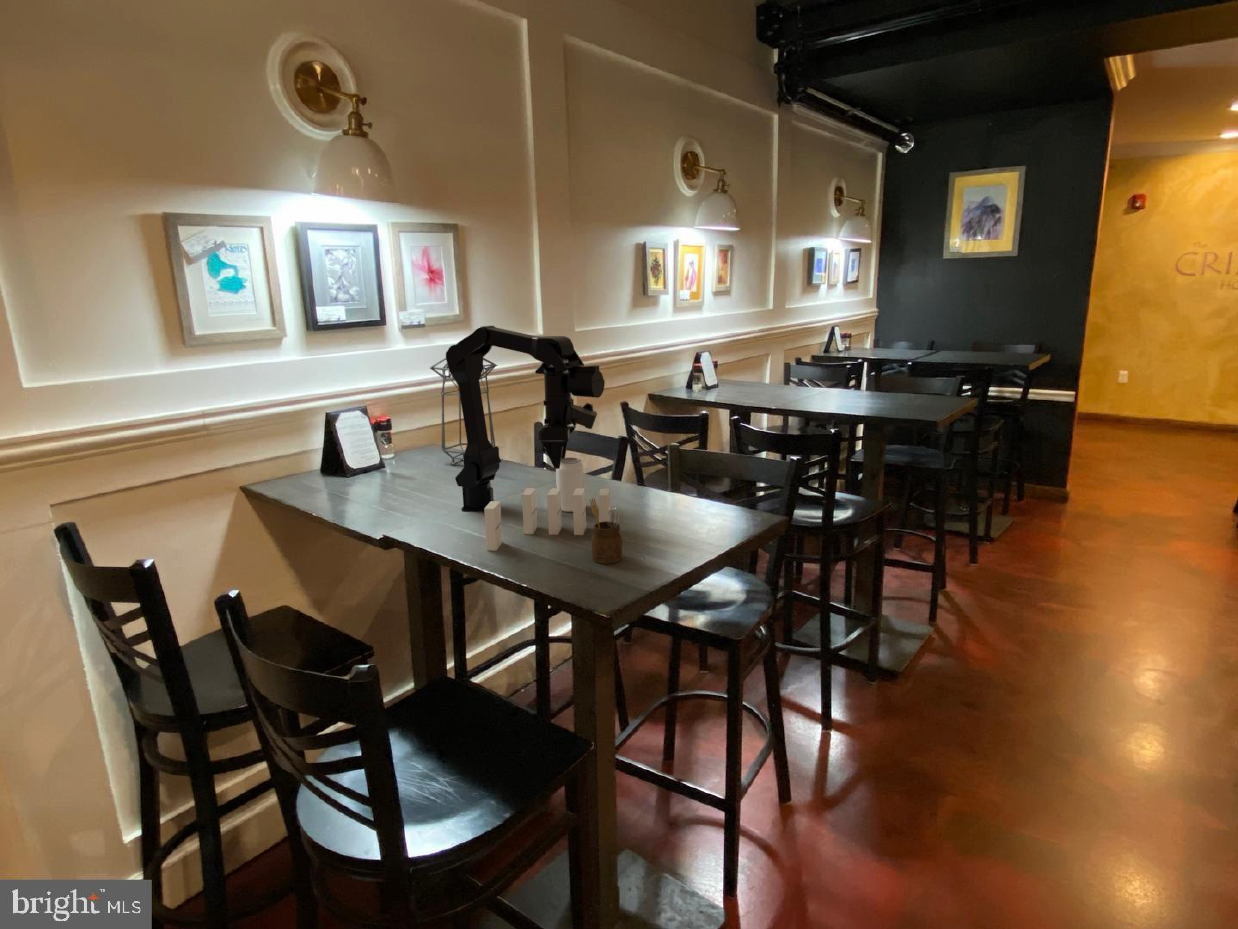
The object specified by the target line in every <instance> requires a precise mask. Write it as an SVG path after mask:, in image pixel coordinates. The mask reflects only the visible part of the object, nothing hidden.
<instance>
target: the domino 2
mask: <svg viewBox="0 0 1238 929" xmlns="http://www.w3.org/2000/svg"><path fill="white" fill-rule="evenodd" d="M536 490H537V488H536V487H526V488H525V489H524V491H523V493H521V501H522V503H521V504H522V519H523V520H522V521H523V534H524V535H534V533H535V531H536V530H537V529H538V510H537V509H538V508H537V491H536Z"/></svg>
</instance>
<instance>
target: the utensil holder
mask: <svg viewBox="0 0 1238 929" xmlns="http://www.w3.org/2000/svg"><path fill="white" fill-rule="evenodd" d="M589 501H590V502H589V503H590V507H591V508H590V509H591V513H592V515H593V516H595V521H596V522H595V524H594V525H593V528H592V532H593V534H592V536H591V555H592V556H591V557H592V559H593V561H594V562H596V563H598V564H603V565H610V564H611V565H612V564H616V563H618V562H620V561H621V559H622V557H623V538H622V534H621V533H620V532H621V527H620V523H619V521H617V522H616V520H617V519H620V510H619V508H617V506H616V507H614V506H612V507H610V510H611V509H612V511H611V513H613V512H614V511H613V509H616V510H617V513H615V517H617V514H618V518H617V519H616V518H614V521H612V520H613V519H612V518H613V517H612V514H610V517H611V522H609V521H605V522H599V516H598V515H599V508H598V505H597V502H596V499H595V497H593V498H591V499H589ZM608 515H609V513H608ZM607 518H608V516H607Z"/></svg>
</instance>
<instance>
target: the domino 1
mask: <svg viewBox="0 0 1238 929" xmlns="http://www.w3.org/2000/svg"><path fill="white" fill-rule="evenodd" d="M483 512H484V522H485V524H484V526H485V535H486V540H485V541H486V551H495V552H496V551H498V549H499V548H500V546H502V544H503V540H504V539H503V527H502V525H503V524H502V509H501V501H499V500H497V501H496V500H495V501H491V502H490V503H489V504H488V505H487V506H486V507H485V508H484V511H483Z"/></svg>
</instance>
